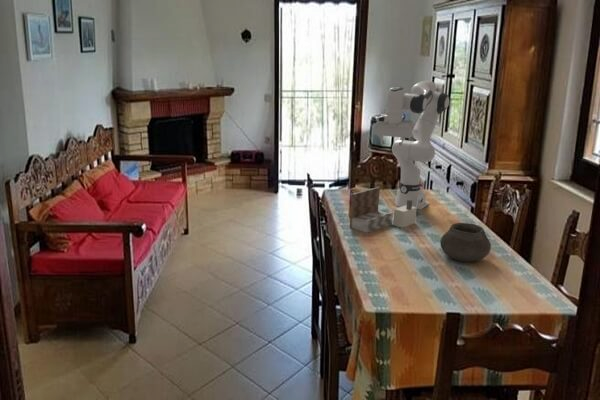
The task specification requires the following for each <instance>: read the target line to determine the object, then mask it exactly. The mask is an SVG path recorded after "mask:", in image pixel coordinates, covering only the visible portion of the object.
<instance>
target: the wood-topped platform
mask: <svg viewBox="0 0 600 400" xmlns="http://www.w3.org/2000/svg"><path fill="white" fill-rule="evenodd" d="M380 190H381V187H379V186H376V187H372V188H369V189H365V190H364V191H361V192H357V193H353V194H352V198H351V213H350V215H349V227H350V228H352V229H355V230H358V231H360V232H364V233H366V234H367V233H370V232H373V231H376V230H379V229H382V228H384V227H387V226H390V225H393V220H394V211H391V212H384V211H382V210H379V201H380V194H381V193H380V192H381V191H380Z"/></svg>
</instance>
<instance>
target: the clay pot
mask: <svg viewBox="0 0 600 400" xmlns="http://www.w3.org/2000/svg"><path fill="white" fill-rule="evenodd" d="M448 229H449V230H448V231H446V232H445V233H444V234H443V235H442V237H441V238H440V242H439V243H440V244H439V245H440V248H441V250H442V252H443V253H444V254H445V255H446V256H447V257H449V258H452V259H454V260H457V261H460V262H466V263H467V262H475V261H481V260H483V259H485V257H486V258H487V256H489V254H490V253H491V249H492V244H491V241H490V239H489V237H488V236H487V234H486V231H485V230H484V227H482V226H480V225H478V224H474V223H472V222H471V223H468V222H457V223H456V222H455V223H453V224H451V225H450V227H449V228H448Z"/></svg>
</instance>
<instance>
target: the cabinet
mask: <svg viewBox="0 0 600 400" xmlns="http://www.w3.org/2000/svg"><path fill="white" fill-rule="evenodd" d="M417 210H418V209H417V207H413V206H412V200H410V199H409V200H407V205H405V206H402V207H397V208H394V210H393V221H392V225H393V226H396V227H398V228H401V229H402V228H403V229H404V228H405V227H406V228H407V227H409V226H411V225H414V224H415V223H416V218H417V216H416V215H417Z"/></svg>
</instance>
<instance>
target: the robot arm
mask: <svg viewBox="0 0 600 400" xmlns="http://www.w3.org/2000/svg"><path fill="white" fill-rule="evenodd" d="M449 105H450V96H449V94H448V93H445V92H439V91H437V86H436V84H435V83H434V82H433V81H432V80H429V79H428V80H427V79H426V80H422V81H419V82H417V83H416V84H414V85H413V86H412V87H411V89H410V93H407V92H405V89H404V87H402V86H392V87H391V88H389V89H388V93H387V97H386V111H385V114H383V115H380V116H378V117H376V122H375V123H374V125H373V135H374V136H379V139H380V141H381V143H380V145H385V140H384V139H383V137H392V138H393V137H394V138H401V139H400V140H396V141H395V142H394V143H393V144H392V146H391V151H392V155H393V156H394V157H395V159H397V161H398V163H399V166H400V181H399V184H398V185H399V186H398V188H399V189H397V191H396V198H395V200H394V202H393V203H394V204H395V206H397V208H399V207H402V206H405V205H407V200H409V199H410V200H412V206H413V207H417V210H422V209H424V208H425V207H428V206H429V205H430V202H429V201H427V200H426V199H427V196H426V194H425V192H423V190H421V188H422V187H423V186H424V183H423V182H422V183H421V182H420V180H421V169H420V168H419V167H418V166H416V165H415V163H414V161H415V162H419V163H427V162H428V163H429V162H431V161H433V159H434V157H435V155H436V151H435V147H434V146H433V145H432V143H431V137H432V135H433V132H434V130H435V128H436V126H437V121H438V118H439V115H441V114H443V112H445V111H446V110H447V109H448V107H449ZM405 112H406V113H414V114H417V115H418V114H419V115H420V116H419V117H418V119H417V120H416V123H415V125H414V122H413V121H412V120H411V119H403V118H404V113H405ZM412 137H413V139H415V140H416V141H412V140H408V139H410V138H412ZM406 139H407V140H406Z"/></svg>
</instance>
